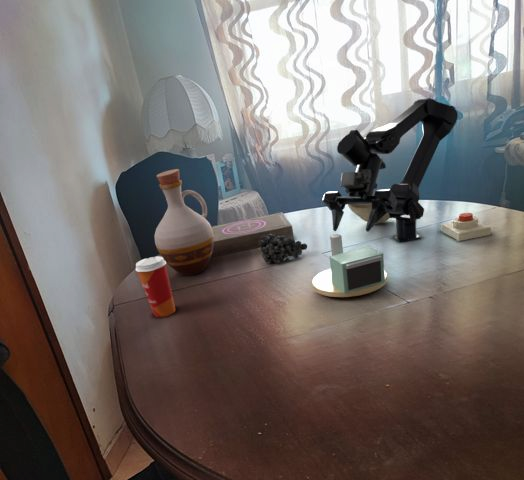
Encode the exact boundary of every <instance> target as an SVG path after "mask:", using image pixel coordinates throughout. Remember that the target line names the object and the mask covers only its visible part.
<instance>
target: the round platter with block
mask: <svg viewBox="0 0 524 480" xmlns="http://www.w3.org/2000/svg"><path fill="white" fill-rule="evenodd" d="M342 237H343V236H342V234H339V233H336V234H332V235H330V236H329V241H330V250H331V255H330V256H329V264H330V268H328V269H325V270H323V271H320V272H319V273H318V274H316V275H315V276H314V277H313V279H312V280H311V284H312V289H313V290H314V291H315V293H317V294H319V295H322V296H325V297H331V298H350V297H358V296H363V295H366V294H370V293H373V292H375V291H377V290H379V289H381V288H383V287H384V286H385V285H386V283H387V282H388V273H387V271H386V269H385V264H384V263H385V261H384V260H385V259H384V256H385V255H384V253H383V252H382V251H379V250H377V249H375V248H374V247H371V246H370V245H368V246H363V247H361V248H356V249H352V250H349V251H345V252H344V247H343V240H342V239H343V238H342Z"/></svg>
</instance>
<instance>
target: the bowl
mask: <svg viewBox="0 0 524 480" xmlns="http://www.w3.org/2000/svg"><path fill="white" fill-rule="evenodd" d="M374 194H375V193H373V194H372V196H375V195H374ZM347 206H348V208H349V209H350V211H351V212H353V213H354V214H355V215H356V216H358V217H359V218H360V219H361V220H362V221H364V222H366V223H367V222H368V219H369V216H370V212H371V209H372V204H347ZM389 219H391V218H390V217H389V214H388V213H386V214H385V215H384V216H383V217H382V218H381V219H380V220H379V221H378V222H377V223H376V224H382V223H385V222H386V221H388V220H389ZM376 224H375V225H376Z"/></svg>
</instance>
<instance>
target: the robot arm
mask: <svg viewBox="0 0 524 480" xmlns="http://www.w3.org/2000/svg"><path fill="white" fill-rule="evenodd" d="M458 117H459V115H458V110H457V109H456V107H455V106H453V105H449V104H447V103H442V102H440V101H437V100H435V99H434V98H431V97H428V98H427V97H426V98H419V99H416V100H415V101H414V102H413V104H412V105H411V106H409V107H408V108H407V109H405V110H404V111H403V112H402V113H400V114H399V115H398V116H397V117H395V118H394V119H393V120H392V121H390V122H389V123H387V124H385V125H382V126H379V127H377V128H374V129H372V130H370V131H369V132H368V133H367V134H366V136H365V137H363V135H362V134H361V133H360V131H359V130H358V129H351V130H350V131H349V133H348V134H346V135H345V136H344V137H342V139H341V140H340V141H339V142H338V144H337V146H336V151H337V153H338V154H339V155H340V156H341V158H343V159H344V160H345V161H346V162H347V163H348V164H349V165H350V166H351V167H356V169H355V171H350V172H349V171H348V172H342V173H341V178H340V188H344V189H345V193H346V194H348V195H347V196H343V195H342V194H341V193H340V191H337V190H336V191H327V192H325V193H324V194H323V197H322V199H321V201H322V202H323V203H324V205H325V206H326V207H327V209H329V211H331V219H332V230H333V232H337V231H338V229H339V226H340V224H341V221H342V218H343V216H344V213H345V211H344V210H345V208H346V205H348V204H372V209H371V212H370V216H369V219H368V222H366V225H365V232H367V233H368V232H370V231H371V229H372V228H373V227H374V226H376V223H377V222H378V221H379V220H380V219H381V218H382V217H383V216H384V215H385V214H386V213H388V214H389V217H390V218H389V219H395V233H396V234H393V235H392V238H393V239H394V240H396V241H397V242H399V243H403V242H404V243H405V242H408V241H413V240H419V239H421V238H422V236H421V235H420V234H418V233H417V220H420V219H421V218H423V217H424V212H425V208H424V207H423V206H422V204H420V202H419V201H420V198H421V197H420V190H419V189H420V186H421V183H422V181H423V179H424V177H425V174H426V172H427V170H428V168H429V167H430V164H431V161H432V160H433V157H434V155H435V153H436V150H437V149H438V147H439V144H440V142H441V141H442V140H443V139H445V138H446V137H447V136H449V134H450V133H451V132H452V130H453V129H454V127H455V125H456V124H457V122H458ZM419 123H422V125H421V127H422V133H423V135H422V137H421V139H420V141H419V144H418V146H417V148H416V150H415V152H414V155H413V156H412V159H411V161H410V163H409V165H408V168H407V169H406V172H405V174H404V176H403V179H402V180H401V181H400V182H399V183H392V185H391V187H390V188H387V189H386V188H385V189H377V188H378V184H377V180H378V177H379V176H378V175H379V173H380V170H384V169H386V167H387V166H386V163H385V161H384V159H383V157H380V156H379V155H390V154H391V153H393V152H394V151H395V149H396V148H397V147H398V146H399V145H400V142H401V139H402V138H403V136H405V135H406V134H407V133H408V132H409V131H411V130H412V129H413V128H414V127H415V126H416V125H418V124H419ZM375 189H377V190H375ZM374 190H375V191H374ZM372 194H374V195H375V196H372ZM377 224H378V223H377Z"/></svg>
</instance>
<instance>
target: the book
mask: <svg viewBox="0 0 524 480" xmlns="http://www.w3.org/2000/svg"><path fill="white" fill-rule="evenodd" d="M211 228H212V230H213V250H212V255H211V257H210V258H212V257H218V256H222V255H226V254H231V253H236V252H241V251H247V250H251V249H257V248H260V246H259V241H260V240H261V237H262V236H266V237H267V236H268V234H274V235H275V237H276V238H277V237H278V236H285V237H286V238H293V240H295V236H294V235H295V234H294V229H293V225H292V224H291V222H290V221H289V220H288V218H287V216H286V215H285V214H284V213H283V212H276V213H272V214H267V215H262V216H255V217H253V218H247V219H242V220H237V221H232V222H227V223H222V224H218V225H211Z"/></svg>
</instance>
